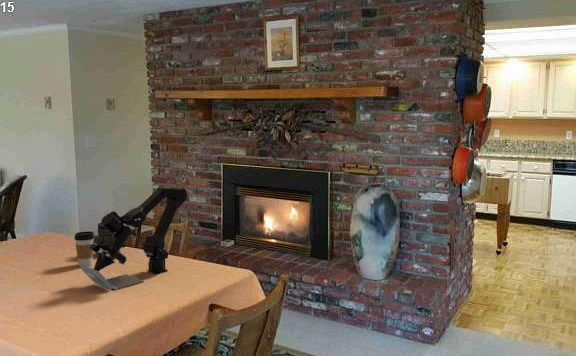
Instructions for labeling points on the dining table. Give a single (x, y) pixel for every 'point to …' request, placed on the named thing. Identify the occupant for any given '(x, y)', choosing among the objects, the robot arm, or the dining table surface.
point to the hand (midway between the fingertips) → (94, 271)
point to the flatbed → (123, 281)
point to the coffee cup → (84, 247)
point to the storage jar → (104, 231)
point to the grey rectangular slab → (96, 277)
